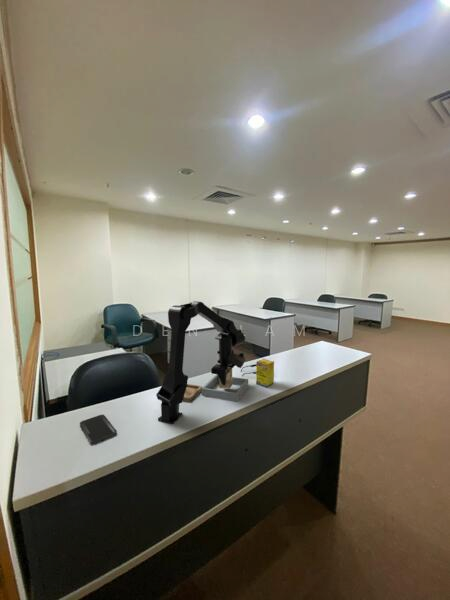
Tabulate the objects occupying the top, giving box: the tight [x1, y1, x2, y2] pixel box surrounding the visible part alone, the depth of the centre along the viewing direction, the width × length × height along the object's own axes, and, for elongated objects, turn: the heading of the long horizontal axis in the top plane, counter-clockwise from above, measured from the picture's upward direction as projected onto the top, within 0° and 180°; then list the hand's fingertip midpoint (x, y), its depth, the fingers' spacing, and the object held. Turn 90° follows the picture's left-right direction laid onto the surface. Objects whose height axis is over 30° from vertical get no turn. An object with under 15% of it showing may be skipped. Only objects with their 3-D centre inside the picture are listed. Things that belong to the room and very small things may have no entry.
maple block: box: [218, 367, 233, 390], centre depth 109 cm, size 4×4×8 cm
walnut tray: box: [183, 383, 203, 403], centre depth 107 cm, size 12×12×2 cm
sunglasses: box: [240, 363, 256, 377], centre depth 128 cm, size 10×12×5 cm
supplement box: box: [255, 358, 275, 389], centre depth 115 cm, size 6×6×11 cm
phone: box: [79, 414, 117, 446], centre depth 82 cm, size 8×1×15 cm
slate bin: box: [201, 374, 249, 402], centre depth 109 cm, size 16×16×3 cm
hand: (225, 382), depth 109 cm, fingers closed on maple block, 4 cm apart
